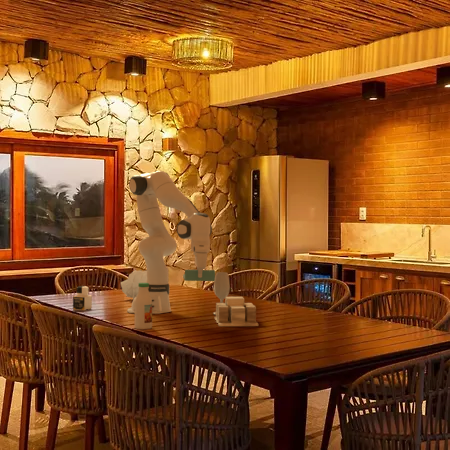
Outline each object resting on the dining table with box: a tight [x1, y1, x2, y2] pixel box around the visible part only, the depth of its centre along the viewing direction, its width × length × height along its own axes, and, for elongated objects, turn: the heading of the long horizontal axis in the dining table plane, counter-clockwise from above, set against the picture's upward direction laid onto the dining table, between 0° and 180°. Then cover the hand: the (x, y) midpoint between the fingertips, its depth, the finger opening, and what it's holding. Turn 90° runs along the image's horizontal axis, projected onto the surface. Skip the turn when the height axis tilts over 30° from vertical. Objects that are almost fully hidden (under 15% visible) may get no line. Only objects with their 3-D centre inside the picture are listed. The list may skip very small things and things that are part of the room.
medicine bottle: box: [72, 285, 93, 311], centre depth 352 cm, size 7×7×12 cm
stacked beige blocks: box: [214, 296, 259, 327], centre depth 315 cm, size 20×18×11 cm
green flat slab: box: [182, 269, 216, 282], centre depth 321 cm, size 14×14×5 cm
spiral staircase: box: [120, 269, 147, 300], centre depth 388 cm, size 18×18×25 cm
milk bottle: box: [134, 283, 153, 330], centre depth 297 cm, size 8×8×20 cm
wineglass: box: [212, 271, 231, 316], centre depth 340 cm, size 9×9×21 cm
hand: (199, 277), depth 315 cm, fingers closed on green flat slab
